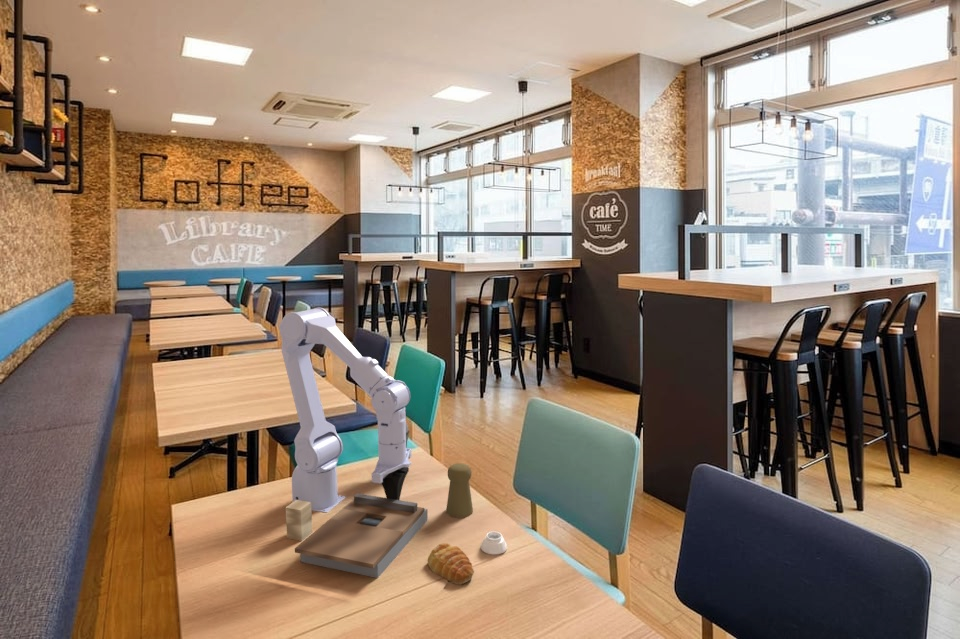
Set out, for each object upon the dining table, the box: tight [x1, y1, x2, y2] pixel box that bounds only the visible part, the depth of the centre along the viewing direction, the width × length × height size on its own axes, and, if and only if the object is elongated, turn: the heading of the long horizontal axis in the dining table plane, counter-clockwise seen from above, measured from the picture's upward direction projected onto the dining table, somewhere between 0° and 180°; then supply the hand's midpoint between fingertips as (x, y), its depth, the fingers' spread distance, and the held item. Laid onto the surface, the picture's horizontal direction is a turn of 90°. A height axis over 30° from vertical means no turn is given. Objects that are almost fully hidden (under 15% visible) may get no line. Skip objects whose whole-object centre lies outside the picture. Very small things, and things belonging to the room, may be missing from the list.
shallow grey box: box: [299, 508, 428, 579], centre depth 118 cm, size 16×22×3 cm
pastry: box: [427, 542, 475, 585], centre depth 108 cm, size 9×7×4 cm
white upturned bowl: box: [480, 530, 508, 555], centre depth 115 cm, size 5×3×5 cm
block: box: [285, 500, 313, 542], centre depth 119 cm, size 4×4×7 cm
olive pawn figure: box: [445, 462, 474, 519], centre depth 129 cm, size 6×6×11 cm
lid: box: [294, 492, 425, 568], centre depth 116 cm, size 16×22×2 cm
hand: (393, 501), depth 126 cm, fingers closed
